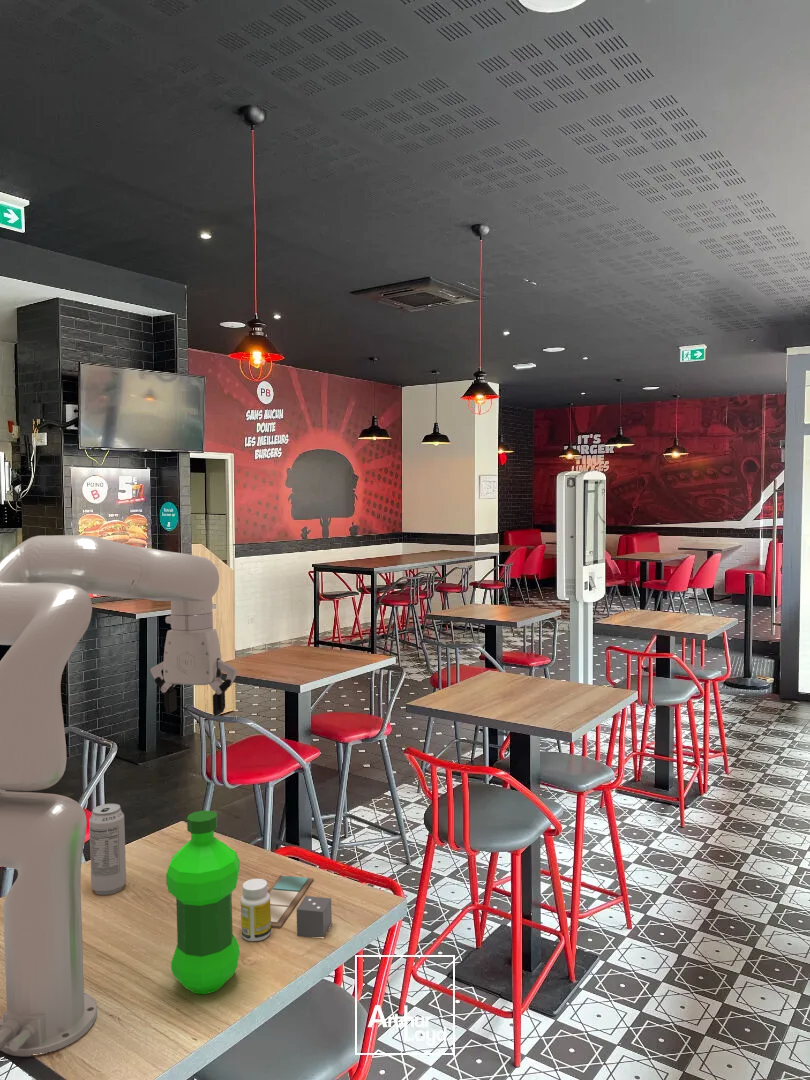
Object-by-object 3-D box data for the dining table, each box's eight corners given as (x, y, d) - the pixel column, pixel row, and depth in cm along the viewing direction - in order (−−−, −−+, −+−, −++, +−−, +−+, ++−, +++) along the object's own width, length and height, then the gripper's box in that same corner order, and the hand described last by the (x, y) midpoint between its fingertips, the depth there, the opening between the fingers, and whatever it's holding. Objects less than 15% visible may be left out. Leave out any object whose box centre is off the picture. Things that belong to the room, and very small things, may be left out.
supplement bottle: (274, 927, 132) (273, 877, 132) (266, 942, 128) (265, 891, 127) (246, 926, 133) (245, 876, 133) (237, 941, 128) (236, 890, 128)
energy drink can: (132, 881, 150) (129, 802, 149) (117, 897, 144) (114, 815, 143) (101, 880, 150) (98, 802, 150) (85, 895, 144) (82, 814, 144)
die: (323, 939, 129) (323, 910, 129) (297, 936, 130) (296, 908, 129) (331, 924, 133) (331, 897, 133) (306, 922, 134) (305, 895, 134)
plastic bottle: (219, 955, 124) (215, 797, 123) (255, 984, 117) (251, 816, 115) (158, 982, 118) (153, 815, 116) (192, 1014, 110) (187, 836, 109)
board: (280, 928, 132) (280, 924, 132) (243, 924, 133) (243, 920, 133) (313, 880, 149) (313, 876, 149) (280, 877, 150) (280, 873, 150)
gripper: (139, 625, 148) (142, 716, 149) (226, 626, 144) (229, 719, 145) (160, 619, 155) (162, 706, 156) (243, 620, 152) (245, 709, 152)
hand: (194, 712), depth 150 cm, fingers open, 9 cm apart
